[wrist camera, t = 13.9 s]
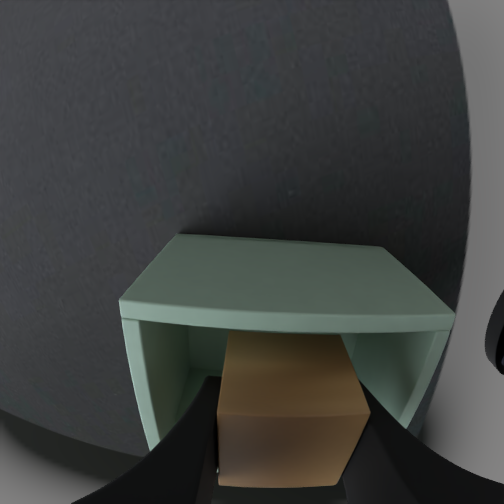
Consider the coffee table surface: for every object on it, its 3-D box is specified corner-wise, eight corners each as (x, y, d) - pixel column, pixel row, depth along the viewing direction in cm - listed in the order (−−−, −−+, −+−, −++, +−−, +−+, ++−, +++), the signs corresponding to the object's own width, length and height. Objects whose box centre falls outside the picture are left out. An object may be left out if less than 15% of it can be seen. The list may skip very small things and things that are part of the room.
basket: (176, 233, 15) (117, 299, 8) (382, 246, 15) (457, 314, 8) (184, 387, 18) (158, 480, 11) (346, 393, 18) (372, 483, 11)
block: (340, 333, 11) (371, 412, 7) (321, 409, 12) (336, 485, 8) (228, 329, 11) (216, 412, 7) (227, 407, 12) (218, 485, 8)
